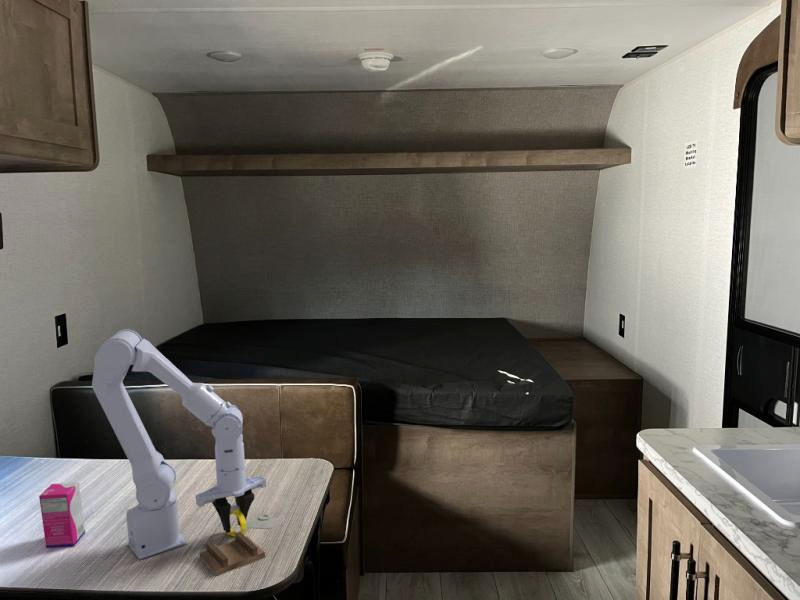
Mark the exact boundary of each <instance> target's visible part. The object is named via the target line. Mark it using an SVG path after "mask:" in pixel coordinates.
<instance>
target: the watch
mask: <svg viewBox="0 0 800 600" xmlns="http://www.w3.org/2000/svg"><path fill="white" fill-rule="evenodd" d="M230 515H235V516H236V518H237V517H238V520H239V522H240V526H241V527H240V526H239V527H240V531H239V532H241V533H242V534H243V535H245V533H246V531H247V528H246V527H247V526H246V524H247V519H246V520H245V517H244V515H243V514H242V513H241V511H240V507H239V506H237V505H236V504H235V505H231V509H230ZM237 532H238V531H235V530H233V529H232V528H231V531H230V532H229V533H227V532H225V533H226V534H227V535H228V536H231V537H235V533H237Z"/></svg>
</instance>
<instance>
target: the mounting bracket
mask: <svg viewBox="0 0 800 600" xmlns="http://www.w3.org/2000/svg"><path fill="white" fill-rule="evenodd" d="M263 517H264V518H263ZM278 519H279V517H272V516H271V514H269V513H263V514H259V516H258V517H257V518H251V519H249V520H248V521H247V522H246V526H247V527H246V529H261V530H262V529H265V530H267V529H269V530H270V529H272V528H273V527H274V526H275V523H276V522H277V521H278Z"/></svg>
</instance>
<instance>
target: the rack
mask: <svg viewBox="0 0 800 600" xmlns="http://www.w3.org/2000/svg"><path fill="white" fill-rule="evenodd" d="M236 532H237V533H235V540H232V541H229V542H225V543H222V544H221V545H218V546H216V544H215V543H214V542H212V541H209V542H206V543H205V544H206V550H204V551H201V552H199V559H200V560H201V561H202V562H203V563H204V564H205V566H207V568H208V569H209V570H210V571H211V572H212V573H213V574H214V576H218V575H221V574H224V573H227V572H229V571H231V570H234V569H237V568H240V567H242V566H244V565H247V564H249V563H252V562H255V561H258V560H260V559H263V558H265V557H266V552H265V551H264V550H263V549H262V548H261V547H260V546H259V545H258V544H257V543H255V542H254V541H253V540H252V539H251V538H250V537H249V536H248V535H245V534H242V533H241V532H240V531H236Z"/></svg>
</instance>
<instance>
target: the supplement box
mask: <svg viewBox="0 0 800 600" xmlns="http://www.w3.org/2000/svg"><path fill="white" fill-rule="evenodd" d="M38 498H39V505H40V513H41V520H42V528H43V535H44V543H45V548H47V549H48V548H50V549H51V548H64V547H65V548H66V547H70V548H71V547H75V546H76V545H77V544H78V542H79V541H80V540H81V538H83V536H84V535H85V534H86V529H85V520H84V513H83V506H82V505H83V504H82V499H81V498H82V496H81V490H80V482H79V481H74V482H61V483H51V484H50V485H49V486H48V487H47V488H46V489H45V490H44V491H43V492H42V493H41V494H40V495H38Z"/></svg>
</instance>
